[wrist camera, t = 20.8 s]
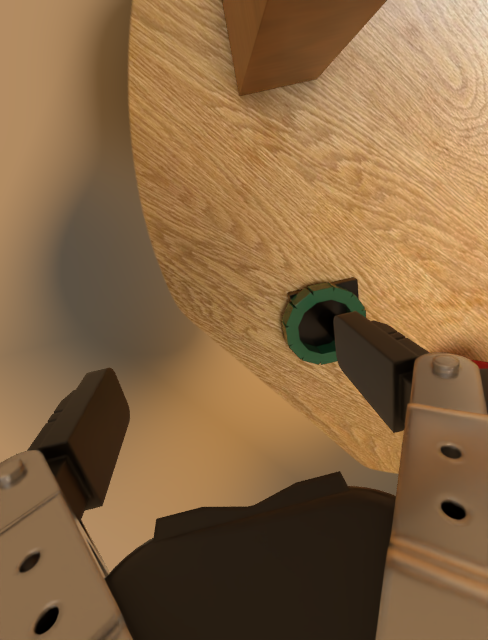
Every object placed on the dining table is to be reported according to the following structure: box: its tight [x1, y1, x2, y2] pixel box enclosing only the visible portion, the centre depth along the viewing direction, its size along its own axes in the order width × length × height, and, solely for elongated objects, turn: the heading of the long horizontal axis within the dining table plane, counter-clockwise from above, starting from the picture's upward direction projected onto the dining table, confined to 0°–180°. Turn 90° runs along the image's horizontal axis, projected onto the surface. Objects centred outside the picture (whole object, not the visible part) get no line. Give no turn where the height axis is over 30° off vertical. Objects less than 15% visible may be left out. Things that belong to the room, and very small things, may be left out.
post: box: [288, 277, 358, 346], centre depth 36 cm, size 9×9×13 cm
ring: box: [282, 282, 366, 365], centre depth 40 cm, size 10×10×2 cm
